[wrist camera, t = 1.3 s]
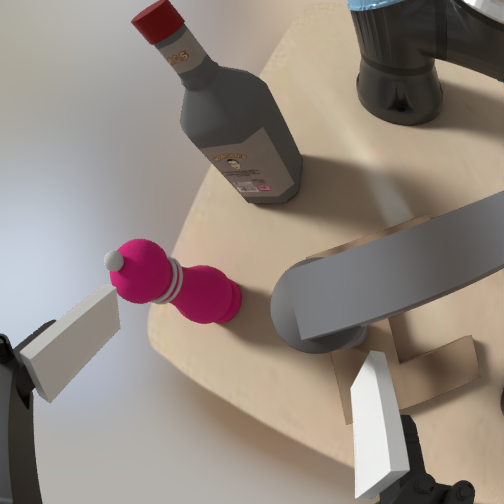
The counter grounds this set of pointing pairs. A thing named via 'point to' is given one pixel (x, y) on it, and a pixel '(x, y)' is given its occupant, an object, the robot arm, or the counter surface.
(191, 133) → the liquor
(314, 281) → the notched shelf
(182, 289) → the pepper mill
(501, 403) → the supplement bottle
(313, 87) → the counter surface
